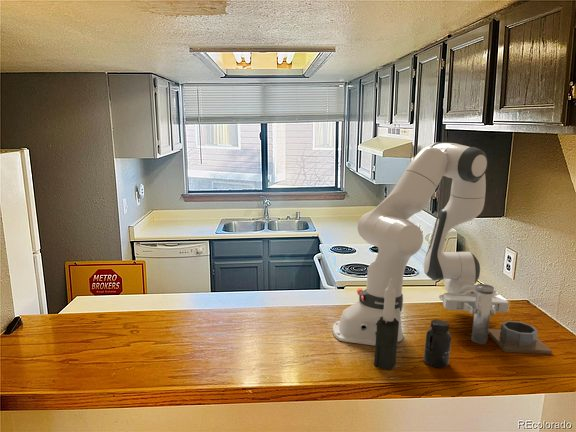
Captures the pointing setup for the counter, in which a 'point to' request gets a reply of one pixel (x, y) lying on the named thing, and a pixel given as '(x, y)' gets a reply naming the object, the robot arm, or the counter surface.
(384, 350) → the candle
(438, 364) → the supplement bottle
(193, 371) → the counter surface
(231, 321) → the counter surface
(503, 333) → the duct collar
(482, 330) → the grey tall capped cylinder
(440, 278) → the robot arm
